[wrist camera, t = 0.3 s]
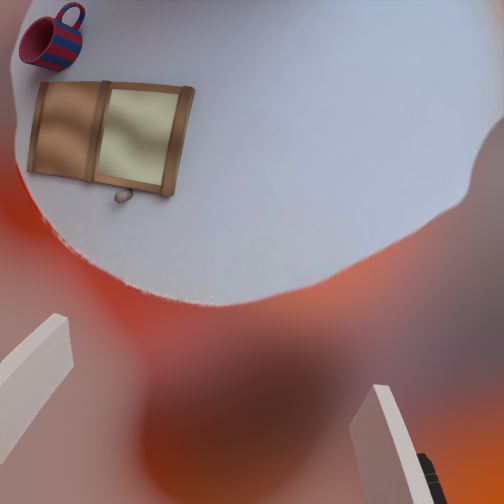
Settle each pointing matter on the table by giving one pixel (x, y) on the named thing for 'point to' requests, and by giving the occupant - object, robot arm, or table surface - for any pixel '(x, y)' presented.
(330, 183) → the table surface
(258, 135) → the table surface
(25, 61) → the mug
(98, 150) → the brown divided flat frame
